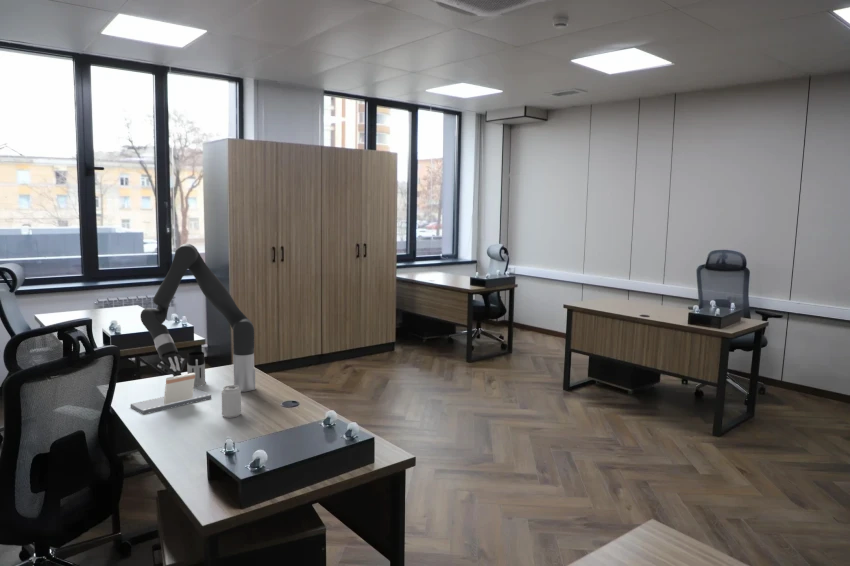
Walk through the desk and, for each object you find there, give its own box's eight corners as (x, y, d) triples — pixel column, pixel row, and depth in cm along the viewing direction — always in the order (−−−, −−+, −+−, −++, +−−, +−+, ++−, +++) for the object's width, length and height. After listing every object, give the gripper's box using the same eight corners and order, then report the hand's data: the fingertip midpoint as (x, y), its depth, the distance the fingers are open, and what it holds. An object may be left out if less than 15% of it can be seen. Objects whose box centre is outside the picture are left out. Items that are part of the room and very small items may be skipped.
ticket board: (198, 392, 274) (197, 388, 273) (211, 398, 266) (211, 394, 266) (130, 407, 251) (130, 403, 251) (143, 414, 243) (142, 410, 243)
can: (244, 412, 248) (243, 384, 247) (236, 419, 241) (236, 390, 239) (226, 411, 249) (226, 383, 247) (218, 417, 241) (218, 389, 240)
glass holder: (205, 380, 292) (205, 350, 291) (207, 388, 280) (206, 357, 278) (186, 382, 289) (185, 351, 287) (187, 390, 276) (186, 358, 274)
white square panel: (190, 396, 259) (194, 372, 256) (192, 398, 259) (195, 373, 255) (163, 403, 251) (166, 377, 247) (164, 404, 250) (167, 379, 246)
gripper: (152, 344, 252) (166, 378, 245) (183, 339, 262) (197, 372, 255) (147, 354, 256) (161, 387, 250) (177, 349, 266) (191, 381, 259)
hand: (179, 380), depth 252 cm, fingers closed
